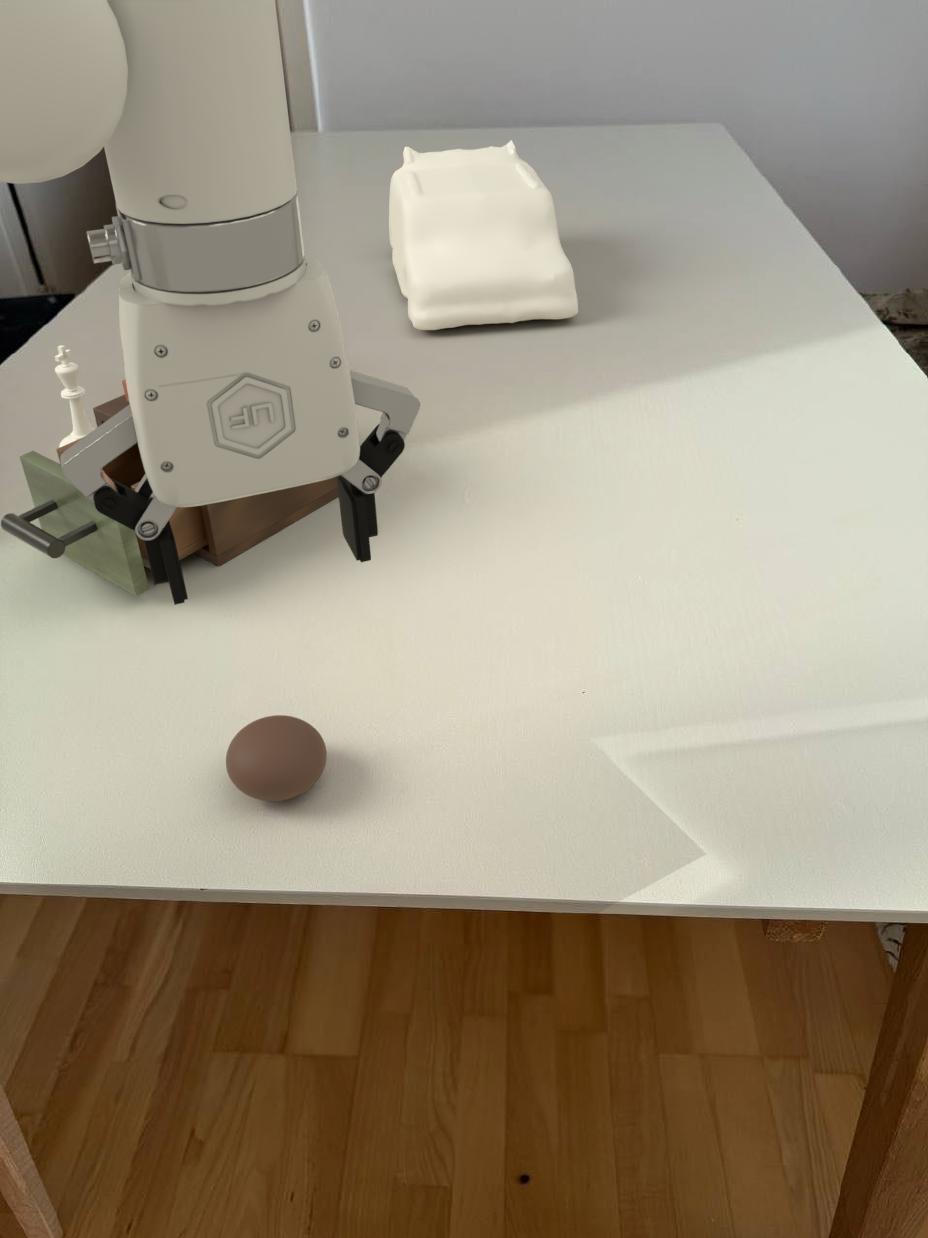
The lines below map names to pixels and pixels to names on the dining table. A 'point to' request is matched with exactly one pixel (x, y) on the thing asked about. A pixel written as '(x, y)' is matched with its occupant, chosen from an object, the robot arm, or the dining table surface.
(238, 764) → the egg
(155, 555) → the robot arm
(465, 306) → the flour sack
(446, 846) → the dining table surface
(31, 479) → the drawer
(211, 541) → the cabinet
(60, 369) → the chess piece
